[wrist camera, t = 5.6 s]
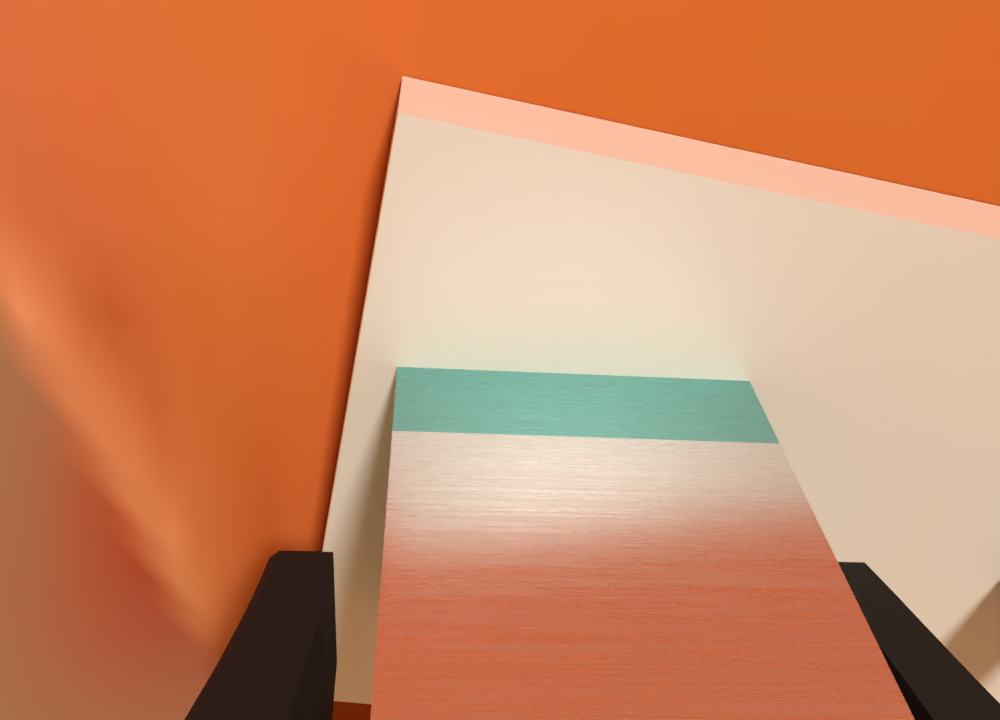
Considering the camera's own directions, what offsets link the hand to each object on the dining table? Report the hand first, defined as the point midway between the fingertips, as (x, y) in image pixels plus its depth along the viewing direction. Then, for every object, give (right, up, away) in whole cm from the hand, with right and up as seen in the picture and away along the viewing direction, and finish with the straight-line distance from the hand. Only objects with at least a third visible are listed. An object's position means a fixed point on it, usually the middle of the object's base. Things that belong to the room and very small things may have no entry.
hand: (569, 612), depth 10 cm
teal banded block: (0, +1, +1) cm, 2 cm away
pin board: (+4, +1, +3) cm, 5 cm away
